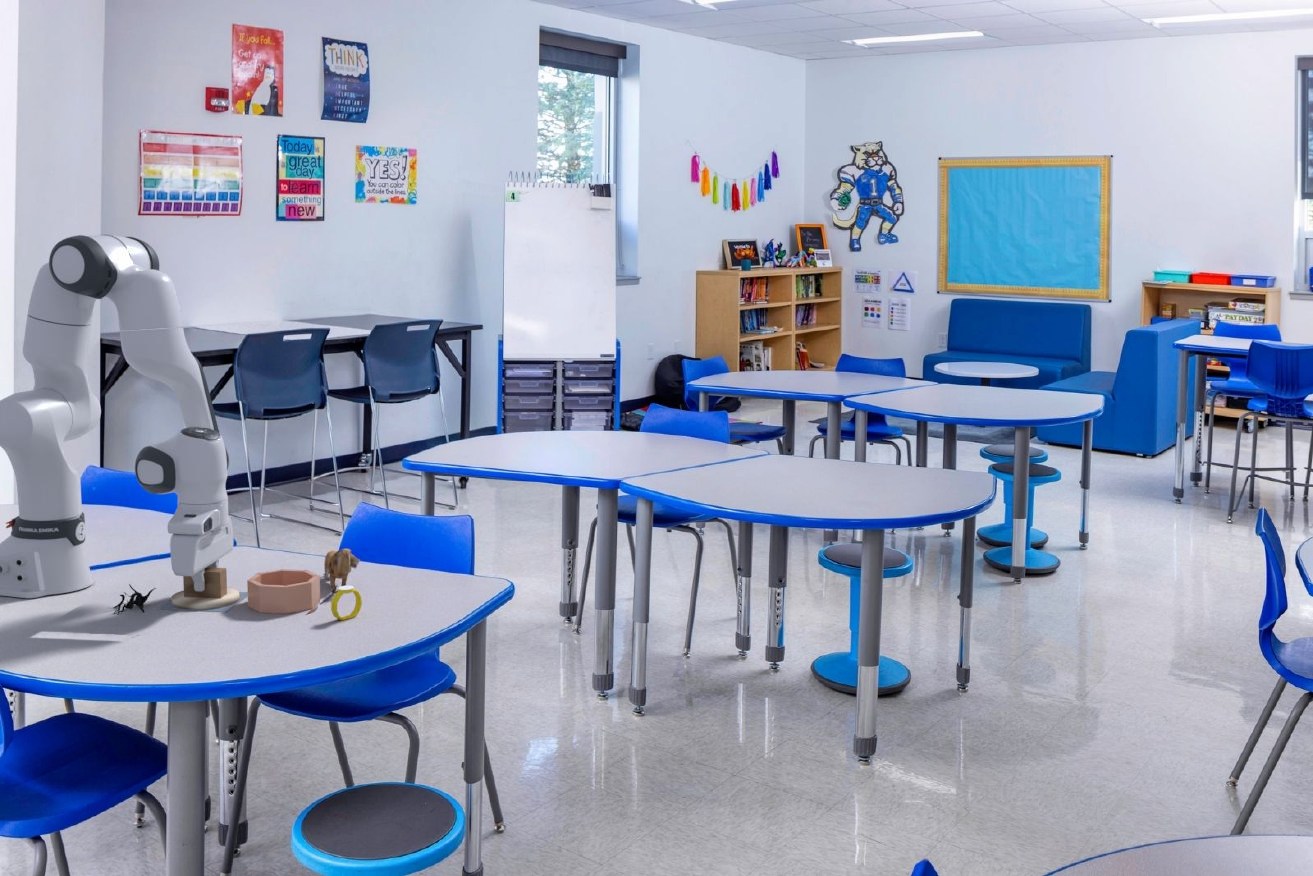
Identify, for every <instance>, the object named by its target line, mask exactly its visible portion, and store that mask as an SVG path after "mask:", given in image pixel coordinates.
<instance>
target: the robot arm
mask: <svg viewBox="0 0 1313 876" xmlns="http://www.w3.org/2000/svg"><path fill="white" fill-rule="evenodd" d="M105 297H106V298H107V299H109V300H110V301H111V302H113V304H114V306H115V308H116V311H117V316H118V326H119V327H118V328H119V337H120V338H119V339H120V344H121V350H122V354H123V357H124V360H125V361H126V362H127V364H128V365H129V366H130V367H131V368H132V369H133V370H135V371H136V372H137V373H139V374H140V375H143V376H144V377H147V378H149V379H151V380H155V381H158V382H161V383H163V384H165V385H166V386H168V387H169V388H170V389H171V390H172V391H173V392H174V394H176V396H177V398H178V402H179V406H180V410H181V413H182V414H181V415H182V418H183V421H184V426H185V427H184V428H182V429H181V430H179V431H178V432H177V434H176V435H174V436H172V437H170V438H169V439H166V440H164V441H159V442H157V443H153V444H150V445H147V446H144V447H143V448H142V449H140V451H139V452H138V454H137V456H136V459H135V462H134V463H135V464H134V471H135V472H134V473H135V477H136V480H137V482H138V484H139V485H140V486H141V488H143V490H145V491H146V492H148V493H149V494H153V495H156V494H157V495H166V494H171V493H175V494H176V495H177V508H176V509H175V512H174V514H173V516H172V517H171V519H169V521H168V523H167V533H168V534H169V535H170V534H171V536H170V542H169V543H170V544H169V549H170V550H169V551H170V563H171V570H172V572H173V574H174V575H175V576H177V577H183V576H191V577H192V579H193V581H194V590H195V591H203V590H205V589H206V588H207V586H206V584H207V580H205V579H204V575H203V574H204V573H205V569H204V568H206V567H208V568H219V564H220V562H219V560H220V559H222V558H223V557H225V556H226V555H228V554H230V553H231V552H232V551H233V548H234V533H233V529H234V528H233V523H232V522H233V521H232V518H231V517H230V516H229V496H228V493H227V490H226V483H227V479H228V470H229V468H230V467H229V466H230V455H229V453H228V449H227V447H226V445H225V441H224V439H223V436H222V435H221V433H220V430H219V425H218V422H217V418H216V414H215V410H214V409H215V408H214V406H213V402H212V398H211V395H210V394H211V393H210V390H209V386H208V385H209V384H208V382H207V378H206V374H205V372H204V369H203V366H202V364H201V362H200V361H199V359H198V358H197V357H196V356H194V355H193V353H192V352H191V349H190V348H189V345H188V342H187V339H186V336H185V332H184V330H185V329H184V324H183V322H184V321H183V317H182V316H183V315H182V312H181V311H182V310H181V306H180V302H179V298H178V294H177V290H176V288H175V285H174V281H173V280H172V279H171V277H170V276H169V275H168V274H167V273H165V272H163V271H160V259H159V256H158V254H157V251H155V249H154V248H153V247H152V246H151V245H150V244H148V243H147V242H145V241H144V240H142V239H139V238H137V237H134V236H120V235H114V234H99V235H98V234H97V235H82V234H80V235H73V236H69V237H66V238H63V239H61V240H60V241H58V242H57V243H56V244H55V245H54V246H53V248H52V249H51V252H50V254H49V258H48V262H47V263H44V264H43V265H42V266H41V267H40V269H39V270H38V274H37V275H36V279H35V281H34V284H33V286H32V291H31V293H30V298H29V304H28V311H27V315H26V321H25V322H26V324H25V330H24V331H25V332H24V338H23V346H22V354H23V357H24V359H25V361H27V362H28V363H29V364H30V365H31V368H32V371H33V378H34V384H33V385H34V386H33V389H31V390H26V391H20V392H15V393H12V394H10V395H9V396H7V397H4V398H2V399H1V400H0V447H1V449H2V450H4V452H5V454H6V455H7V457H8V459H9V461H10V465H11V466H12V469H13V473H14V475H15V476H14V477H15V480H16V490H17V502H18V503H17V504H18V516H16V517H14V518H12V519H11V520H10V521H7V522H5V525H6V524H7V525H6V526H5V529H9V528H11V533H10V535H9V536H7V537H6V538H5V539H4V540H2V541H1V542H0V596H4V597H13V598H20V599H21V598H22V599H34V598H40V597H41V598H42V597H45V596H50V595H59V594H65V593H71V592H74V591H75V592H76V591H79V590H82V589H85V588H88V587H90V586H92V585H93V584H94V583H95V580H94V577H93V574H92V572H91V571H92V570H91V569H90V565H89V560H88V557H87V551H86V544H85V541H86V520H85V513H84V512H83V508H82V507H83V505H82V485H81V484H82V483H81V475H80V473H79V472H78V471H77V469H75V468H74V467H73V466H71V464H70V463H69V461H68V459H67V457H66V453H65V449H64V444H63V443H64V442H69V441H72V440H76V439H79V438H81V437H82V436H84V435H86V434H88V433H89V432H90V431H91V430H93V429H94V428H96V426H97V425H98V424H99V422H100V419H101V414H102V409H101V407H102V406H101V404H100V401H99V399H98V398H97V396H96V394H94V392H93V391H92V389H91V385H90V380H89V374H88V352H89V343H90V336H91V329H92V321H93V313H94V308H95V303H96V301H97V300H102V299H103V298H105Z"/></svg>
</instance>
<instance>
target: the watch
mask: <svg viewBox="0 0 1313 876" xmlns="http://www.w3.org/2000/svg"><path fill="white" fill-rule="evenodd" d="M350 593H353V594H354V597H355V605H354V609H353V610H352V611H351V613H350V614H347V615H343V616H340V614H339V611H338V602H339V601H340V599H341V597H342V596H343V595H344V594H350ZM362 604H363V601H362V595H361V594H360V592H359V591H358V590H356V589H355V587H354V586H353V585H346V586H338V590H337V591H336V592H335V594H334V596H333V598H332V600H331V605H330V609H331V613H332V615H333V616H334V617H335V618H336V619H337V620H339V621H346V620H349V619H353V618H356V617H357V615H359V613H360V611H361V608H362Z"/></svg>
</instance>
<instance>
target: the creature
mask: <svg viewBox="0 0 1313 876" xmlns="http://www.w3.org/2000/svg"><path fill="white" fill-rule="evenodd" d="M128 585H129V587H130V589H131V590H132V591H134V592H133V593H132V594H131V595H129V594H127V593H126V592H125V591H123V594H120V595H119V596H120V597H121V601H120V602H119V603H118V604H116V605H115V606H113V607H112V608H113V609H115V608H117V609H116V610H114V612H113V615H115V614H116V612H117V616H118V615H119V614H120V613H124V612H125V609H129V610H132V609H133V608H134V606H137V607H138V609H140V611H142V613H145V610H144V609H143V608H144V605H145V603H146V601H147V600H148V598H149V597H150V595H151V593H152V592H153V591H155V590H156V589H157V588H156V587H154V588H152V589H150V591H148V593H147V594H146V595H142V592H139V591H137V590H136V589H135V588H133V586H132V585H131V584H130V583H128ZM126 596H128V597H129V600H128V599H127V600H126V601H127V602H126V603H124V601H125V598H126ZM121 607H122V608H121Z"/></svg>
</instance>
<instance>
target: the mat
mask: <svg viewBox="0 0 1313 876" xmlns="http://www.w3.org/2000/svg"><path fill="white" fill-rule="evenodd" d="M238 592H239V601H237V602H236V603H234V604H232V605H229V606H225V607H221V608H215V609H206V610H189V609H181V608H177V607H175V606H173V605H172V601H171V599H170V600H169V601H167V602H165V603H164V604H163V605H161V606H159V607H157V608H156V610H158V611H159V610H161V611H186V612H208V613H228V612H229V611H230V610H232V609H234V607H235V606H237V605H239V604H240V603H241V602H242V601H244V600H245V599H246V598H248V591H238Z"/></svg>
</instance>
